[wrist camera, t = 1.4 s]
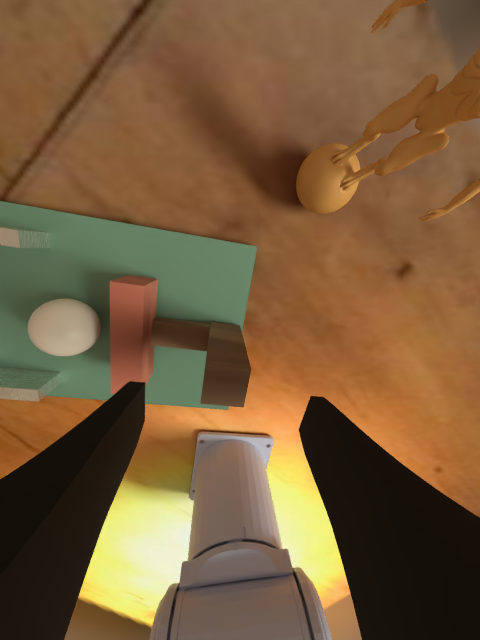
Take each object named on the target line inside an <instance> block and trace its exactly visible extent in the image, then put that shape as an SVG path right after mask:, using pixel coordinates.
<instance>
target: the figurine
mask: <svg viewBox="0 0 480 640" xmlns="http://www.w3.org/2000/svg"><path fill="white" fill-rule="evenodd" d="M426 1H428V0H395V1H394V2H393V3H392V4H391V5H389V6H388V7H387V9H386V10H385V11H384V12H383V13H382V14H381V15H380V17H379V18H378V19H377V20H376V21H375V23H374V24H373V26H372V28H374V27H375V28H374V29H373V30H372V32H371V34H372V33H373V32H374V31H375V30H376V29H377V28H378V27H380V26H381V25H382V24H383V23H384V22H385V21H386V20H387V19H388V20H387V21H386V23H385V24H384V26H383V29H384V28H385V27H386V26H387V25H388V24H389V23H390V21H391V20H392V19H393V18H394V16H395V15H396V13H397V12H398V11H399V10H400V9H401V8H403V7H406V6H413V5H417V4H421V3H424V2H426ZM437 84H438V77H437V75H435V74H431V75H428V76H426V77H425V78H424V79H423V80H422V81H421V82H420V83H419V84H418V85H417V86H416V87H415V88H414V89H413V90H412V91H411V92H409V93H408V94H407V95H405V96H404V97H402V98H401V99H399V100H397V101H395V102H394V103H392V104H391V105H389V106H388V107H387V108H385V109H384V110H383V111H382V112H381V113H380V114H379V115H378V116H376V117H375V118H374V119H373V120H372V121H370V122H369V123H368V124H367V126H366V128H365V130H364V133H363V135H364V137H363V138H361V139H360V140H358V141H356V142H355V143H354V144H352V145H351V146H349V147H347V146H345V145H343V144H338V143H330V144H326V145H323V146H321V147H319V148H317V149H315V150H314V151H313V152H312V153H310V154H309V155H308V156H307V158H306V159H305V160H304V162H303V163H302V165H301V167H300V169H299V172H298V175H297V180H296V191H297V195H298V198H299V200H300V202H301V203H302V205H303V206H304V207H305V208H306V209H308V210H309V211H311V212H314V213H318V214H326V213H331V212H334V211H336V210H338V209H339V208H341V207H342V206H344V205H345V204H346V203H347V202H348V201H349V200H350V199H351V197H352V196H353V194H354V193H355V191H356V189H357V186H358V183H359V181H360V180H361V179H363V178H365V177H367V176H368V175H370V174H372V173H374V172H375V174H376V175H379V176H384V175H387V174H389V173H391V172H394V171H396V170H399V169H402V168H404V167H406V166H407V165H409V164H411V163H412V162H414V161H415V160H417V159H419V158H420V157H422V156H425V155H427V154H430V153H433V152H436V151H440V150H442V149H443V148H444V147H445V146H446V145H447V144H448V142H449V135H448V134H446V133H445V132H444V129H445V128H446V127H448V126H450V125H452V124H454V123H457V122H459V121H467V120H471V119H474V118H480V48H479V49H478V50H477V51H476V54H474V55H473V56H472V57H471V59H470V60H469V62H468V63H467V65H466V66H464V67H463V68H462V69H461V70H460V72H459V73H458V74H457V75H456V76H455V78H454V79H453V80H452V81H451V82H450V83H449V84H448V85H446V86H445V87H444V88H443V89H441V90H440V91H438V92H437V91H436V87H437ZM415 117H417V120H416V123H415V127H416V129H418V130H420V132H419V133H418V134H416V135H413V136H410V137H408V138H406V139H404V140H403V141H401V142H400V143H399V144H398V145H397V146H396V147H395V148H394V149H393V150H392V152H391V154H390V155H389V156H388V157H384V158H381V159H379V160H378V161H377V162H375V163H372V164H370V165H369V166H367V167H365V168H363V169H361V170H360V164H359V161H358V158H357V156H356V155H355V153H357V152H358V151H360V150H361V149H363V148H364V147H365V146H367V145H368V144H369V143H370V142H372V141H374V140H376V139H377V138H378V137H379V136H380V134H381V133H392V132H395V131H398V130H400V129H401V128H403V127H404V126H406V125H407V124H408V123H409V122H410V121H411V120H413V119H414V118H415ZM479 191H480V179H479V180H477V181H476V182H474V183H473V184H471V185H469V186H468V187H467V188H465V189H464V190H463V191H461V192H460V193H459V194H458V195H457V196H455V197H454V198H453V199H452V200H451V201H450V202H449V203H448V205H446V206H445V207H443V208H440V209H433V210H430V211H428V212H427V213H431V212H434V213H431V214H428V215H426V216H423V217H420V218H419V219H422V220H421V221H426V220H430V219H434V218H437V217H439V216H441V215H444V214H446V213H448V212H450V211H451V210H453V209H454V208H456V207H457V206H459V205H461V204H462V203H464V202H466V201H467V200H469V199H470V198H471V197H473V196H474V195H475V194H477V193H478V192H479ZM424 218H425V219H424Z"/></svg>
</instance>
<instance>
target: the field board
mask: <svg viewBox="0 0 480 640" xmlns="http://www.w3.org/2000/svg"><path fill="white" fill-rule="evenodd" d="M0 225H4V226H10V227H16V228H22V229H28V230H34V231H40V232H47V233H49V240H50V248H16V247H10V246H3V245H0V366H2V367H13V368H24V369H35V370H46V371H57V372H61V381H62V382H61V383H60V384H59V385H58V386H56V387H55V388H54V389H53V390H52V391H51V392H49V393H48V394H47V395H46V396H57V397H70V398H83V399H95V400H108V399H109V398H111V397H112V396H113V395H114V394H111V372H110V281H112V280H115V279H118V278H121V277H125V276H128V275H135V276H141V277H148V278H155V279H158V289H157V308H156V317H161V318H168V319H176V320H184V321H192V322H200V323H208V324H211V322H218V323H226V324H234V325H240V327H241V331H242V328H243V323H244V317H245V312H246V306H247V301H248V295H249V289H250V284H251V278H252V273H253V267H254V261H255V256H256V250H257V246H251V245H245V244H240V243H234V242H229V241H223V240H217V239H212V238H206V237H200V236H195V235H189V234H183V233H178V232H172V231H167V230H161V229H155V228H150V227H144V226H138V225H133V224H127V223H121V222H116V221H110V220H105V219H99V218H93V217H88V216H82V215H76V214H71V213H65V212H60V211H54V210H48V209H43V208H37V207H31V206H26V205H20V204H14V203H9V202H3V201H0ZM56 299H74V300H78V301H81V302H83V303H85V304H87V305H89V306H90V307H91V308H92V309H93V310H94V311H95V312H96V313H97V315H98V317H99V319H100V322H101V331H100V335H99V337H98V339H97V341H96V342H95V343H94V344H93V345H92V346H91V347H90V348H89V349H87V350H86V351H84V352H82V353H79V354H77V355H72V356H55V355H50V354H48V353H45V352H43V351H42V350H40V349H39V348H37V347H36V346H35V345H34V344H33V343H32V341H31V339H30V337H29V335H28V321H29V319H30V317H31V315H32V313H33V312H34V311H35V310H36V309H37V308H38V307H40V306H41V305H43V304H44V303H46V302H49V301H52V300H56ZM206 355H207V351H198V350H189V349H180V348H171V347H162V346H154V362H153V373H152V375H151V377H150V379H149V381H148V382H147V384H146V386H145V403H146V404H159V405H172V406H185V407H198V408H210V409H223V410H228V407H229V406H221V405H209V404H200V402H201V394H202V386H203V378H204V370H205V363H206Z"/></svg>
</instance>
